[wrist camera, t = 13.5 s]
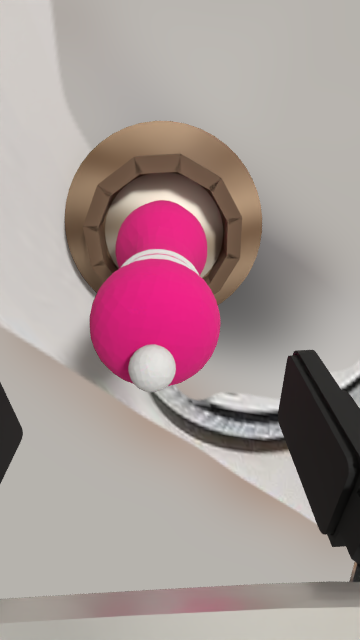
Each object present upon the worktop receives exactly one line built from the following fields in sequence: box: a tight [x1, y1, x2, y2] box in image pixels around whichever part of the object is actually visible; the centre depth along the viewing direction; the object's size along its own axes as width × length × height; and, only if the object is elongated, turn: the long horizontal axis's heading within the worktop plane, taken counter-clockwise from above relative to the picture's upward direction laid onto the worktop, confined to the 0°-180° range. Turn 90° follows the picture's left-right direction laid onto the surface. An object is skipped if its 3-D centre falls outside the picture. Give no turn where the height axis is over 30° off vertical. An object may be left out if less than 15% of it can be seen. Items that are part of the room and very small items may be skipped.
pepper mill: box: [90, 200, 220, 392], centre depth 19 cm, size 7×7×20 cm
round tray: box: [65, 121, 262, 305], centre depth 28 cm, size 18×18×3 cm
